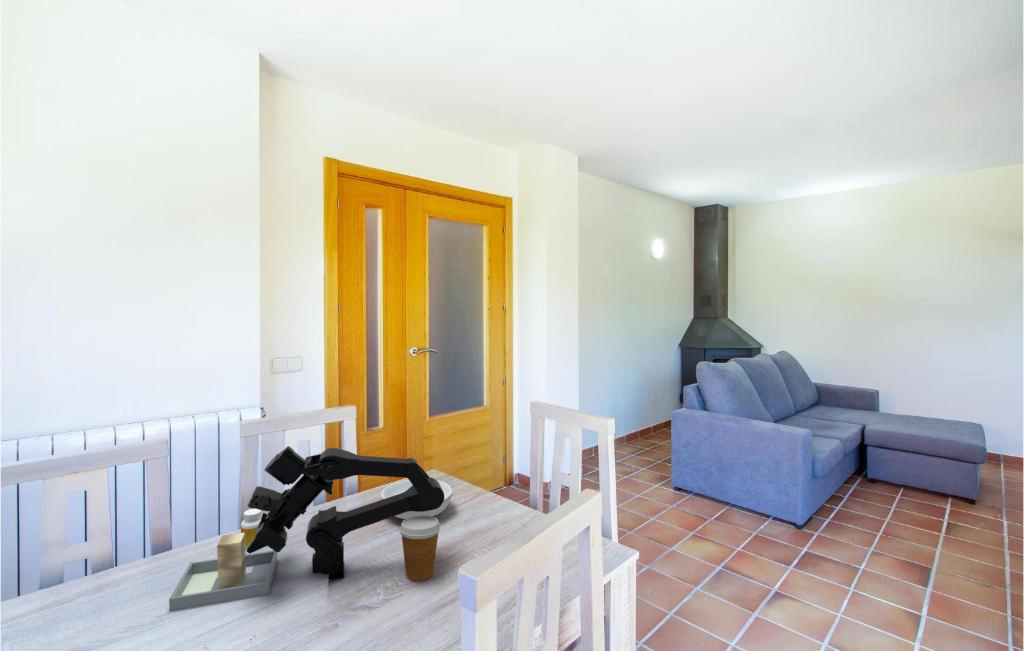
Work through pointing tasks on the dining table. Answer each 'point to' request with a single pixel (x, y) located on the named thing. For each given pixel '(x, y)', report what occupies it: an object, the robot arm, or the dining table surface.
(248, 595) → the box
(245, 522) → the supplement bottle
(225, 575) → the maple post
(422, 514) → the serving bowl
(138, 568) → the dining table surface
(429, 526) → the disposable coffee cup
